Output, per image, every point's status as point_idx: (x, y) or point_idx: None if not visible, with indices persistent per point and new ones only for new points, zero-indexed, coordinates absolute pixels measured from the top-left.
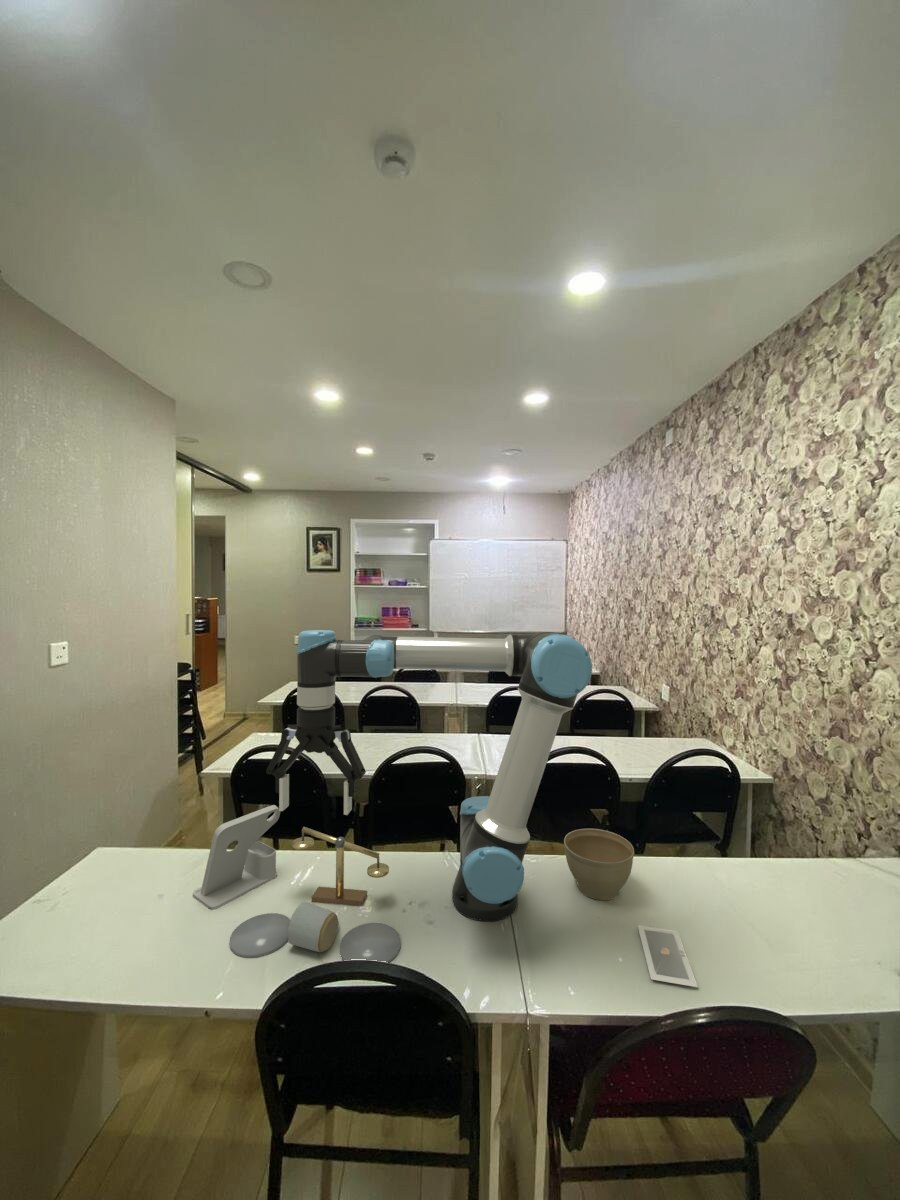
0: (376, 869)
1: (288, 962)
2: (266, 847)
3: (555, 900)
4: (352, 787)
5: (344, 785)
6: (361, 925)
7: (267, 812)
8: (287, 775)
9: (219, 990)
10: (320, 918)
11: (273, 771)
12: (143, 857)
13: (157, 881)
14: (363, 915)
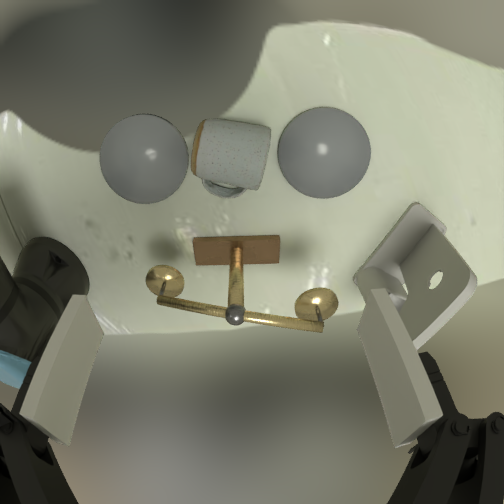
0: (166, 281)
1: (255, 104)
2: None
3: None
4: (25, 391)
5: (35, 402)
6: (170, 192)
7: None
8: (401, 442)
9: (332, 47)
10: (208, 144)
11: (476, 435)
12: (495, 279)
13: (480, 245)
14: (182, 219)
